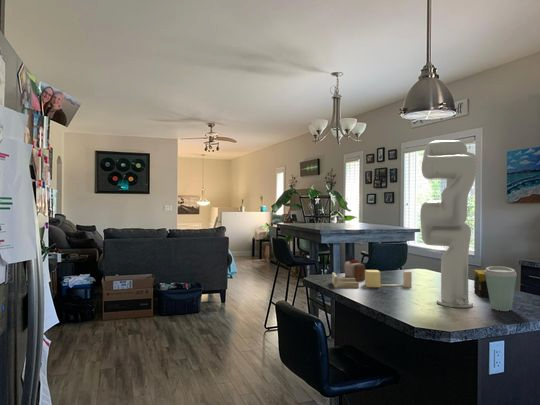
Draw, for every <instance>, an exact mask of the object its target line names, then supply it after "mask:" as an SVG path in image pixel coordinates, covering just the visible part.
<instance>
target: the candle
mask: <svg viewBox="0 0 540 405" xmlns="http://www.w3.org/2000/svg"><path fill="white" fill-rule="evenodd" d="M485 270H486V269H484V270H483V269H480V270H479V269H474V271H473V273H474V275H473V276H474V279H473V280H474V281H473V286H474V287H473V288H474V294H475V295H477V297H479V298H486V299H488V298H489V293H488V287H487V282H486V276H485V274H484V271H485ZM489 299H490V298H489Z"/></svg>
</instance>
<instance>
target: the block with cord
mask: <svg viewBox="0 0 540 405" xmlns="http://www.w3.org/2000/svg"><path fill="white" fill-rule="evenodd" d="M412 274H413V273H412V271H410V270H403V271H402V284H394V283H393V284H392V283H391V284H387V283H385V284H384V283H381V272H380V270H378V269H365V280H364V285H365V287H367V288H381V287H383V286H385V287H404V288H412V282H413V281H412Z"/></svg>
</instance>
